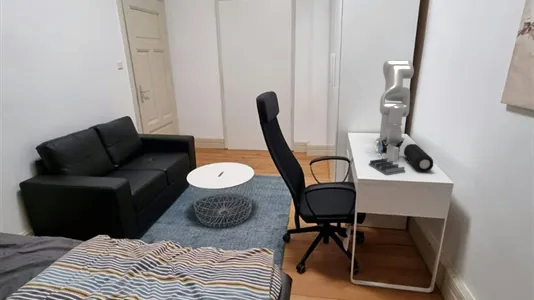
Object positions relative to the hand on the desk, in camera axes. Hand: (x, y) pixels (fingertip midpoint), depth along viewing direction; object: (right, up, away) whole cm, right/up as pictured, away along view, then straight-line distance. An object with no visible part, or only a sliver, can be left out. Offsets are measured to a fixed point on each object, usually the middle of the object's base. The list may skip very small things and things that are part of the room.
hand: (390, 152), depth 184 cm
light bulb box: (+3, -1, +13) cm, 13 cm away
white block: (0, -5, +2) cm, 5 cm away
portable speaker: (+13, -8, -6) cm, 16 cm away
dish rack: (-8, -10, -12) cm, 17 cm away
